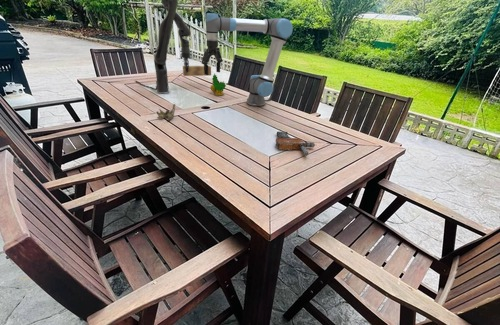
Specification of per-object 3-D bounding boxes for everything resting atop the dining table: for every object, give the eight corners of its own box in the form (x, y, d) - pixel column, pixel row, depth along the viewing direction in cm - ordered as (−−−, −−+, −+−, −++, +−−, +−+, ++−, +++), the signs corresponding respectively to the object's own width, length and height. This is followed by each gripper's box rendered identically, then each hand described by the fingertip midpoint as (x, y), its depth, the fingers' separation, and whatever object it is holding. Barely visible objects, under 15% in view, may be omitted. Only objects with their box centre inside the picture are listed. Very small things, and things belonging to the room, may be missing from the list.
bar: (184, 75, 246) (183, 66, 242) (183, 74, 250) (182, 65, 246) (211, 75, 254) (211, 66, 250) (209, 74, 259) (209, 65, 255)
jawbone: (182, 108, 180) (175, 98, 171) (172, 126, 173) (165, 116, 165) (170, 106, 182) (164, 96, 174) (161, 124, 176) (153, 114, 168)
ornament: (225, 100, 236) (233, 86, 230) (219, 99, 230) (226, 84, 223) (213, 88, 246) (220, 74, 239) (206, 87, 239) (213, 72, 232)
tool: (272, 130, 160) (281, 150, 133) (314, 131, 162) (332, 151, 136) (271, 136, 161) (280, 157, 135) (313, 137, 164) (330, 158, 138)
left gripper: (180, 51, 243) (181, 69, 252) (182, 53, 232) (183, 72, 240) (188, 51, 246) (189, 69, 254) (191, 53, 234) (192, 72, 243)
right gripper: (204, 41, 161) (205, 76, 172) (227, 40, 180) (227, 71, 191) (195, 40, 164) (196, 75, 175) (218, 39, 183) (218, 70, 194)
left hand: (186, 71), depth 247 cm, fingers closed on bar, 5 cm apart
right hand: (212, 73), depth 183 cm, fingers open, 13 cm apart
